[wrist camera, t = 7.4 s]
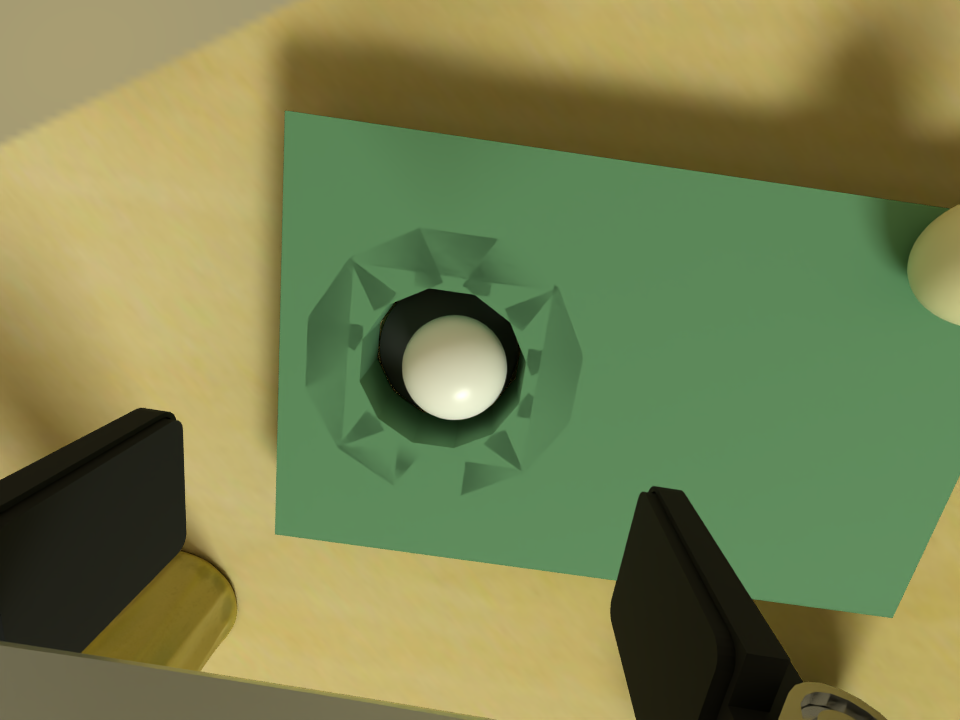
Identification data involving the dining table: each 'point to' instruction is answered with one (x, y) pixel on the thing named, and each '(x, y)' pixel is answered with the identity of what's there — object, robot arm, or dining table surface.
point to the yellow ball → (938, 266)
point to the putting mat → (610, 362)
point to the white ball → (454, 367)
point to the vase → (173, 618)
